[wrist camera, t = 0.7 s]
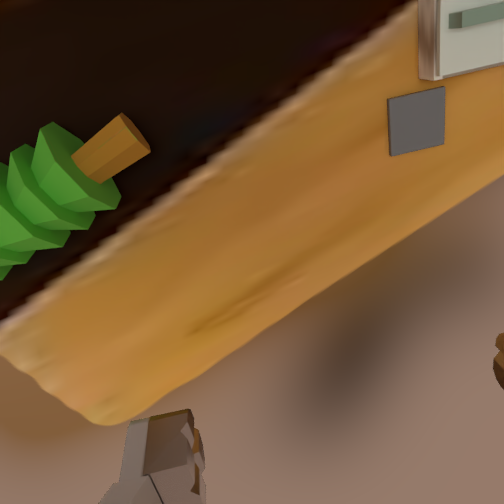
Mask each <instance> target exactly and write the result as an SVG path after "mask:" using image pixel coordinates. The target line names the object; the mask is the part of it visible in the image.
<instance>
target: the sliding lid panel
mask: <svg viewBox="0 0 504 504" xmlns="http://www.w3.org/2000/svg"><path fill="white" fill-rule="evenodd" d="M500 62H504V0H437V52H436V76H444V75H448V74H452V73H457V72H461V71H465V70H470V69H474V68H478V67H483V66H487V65H491V64H496V63H500Z"/></svg>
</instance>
